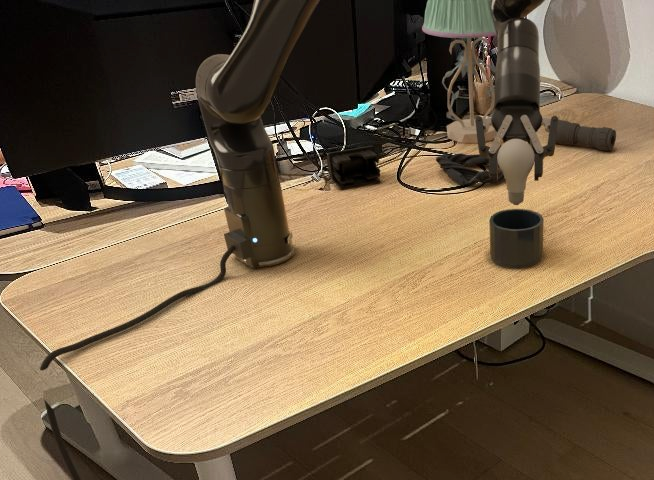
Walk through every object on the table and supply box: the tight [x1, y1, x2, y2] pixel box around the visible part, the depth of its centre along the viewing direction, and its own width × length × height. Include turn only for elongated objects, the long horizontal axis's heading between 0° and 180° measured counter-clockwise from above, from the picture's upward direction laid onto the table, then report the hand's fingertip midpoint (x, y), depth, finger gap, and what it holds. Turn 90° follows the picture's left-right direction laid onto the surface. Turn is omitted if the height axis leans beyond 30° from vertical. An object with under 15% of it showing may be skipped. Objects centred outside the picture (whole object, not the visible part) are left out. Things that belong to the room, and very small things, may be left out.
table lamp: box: [421, 0, 497, 144], centre depth 176 cm, size 22×22×40 cm
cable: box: [435, 153, 506, 187], centre depth 164 cm, size 17×14×4 cm
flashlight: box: [556, 119, 617, 152], centre depth 177 cm, size 15×5×5 cm, turn 62°
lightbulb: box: [497, 139, 535, 206], centre depth 123 cm, size 6×6×11 cm
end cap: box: [326, 145, 382, 191], centre depth 161 cm, size 10×7×7 cm
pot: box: [488, 208, 545, 269], centre depth 130 cm, size 9×9×7 cm
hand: (515, 178), depth 122 cm, fingers closed on lightbulb, 6 cm apart
